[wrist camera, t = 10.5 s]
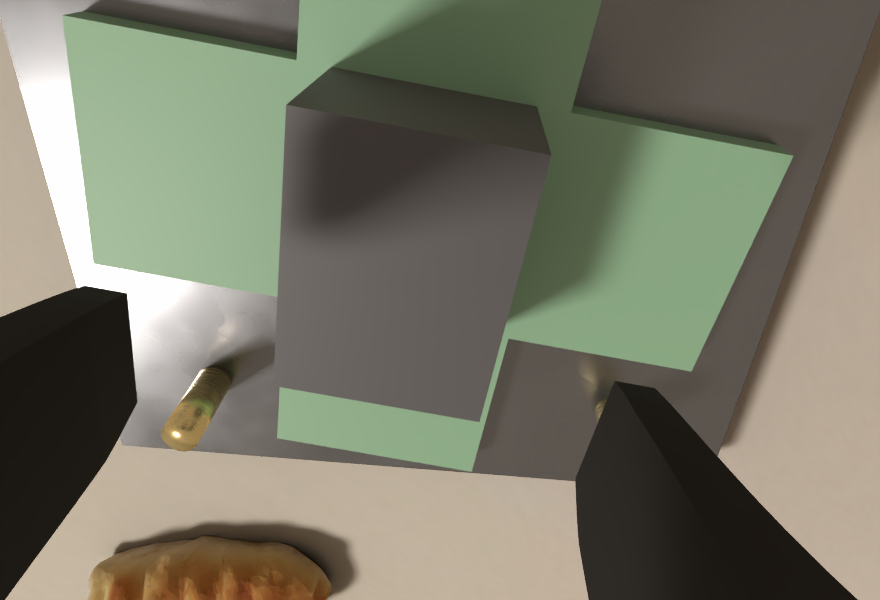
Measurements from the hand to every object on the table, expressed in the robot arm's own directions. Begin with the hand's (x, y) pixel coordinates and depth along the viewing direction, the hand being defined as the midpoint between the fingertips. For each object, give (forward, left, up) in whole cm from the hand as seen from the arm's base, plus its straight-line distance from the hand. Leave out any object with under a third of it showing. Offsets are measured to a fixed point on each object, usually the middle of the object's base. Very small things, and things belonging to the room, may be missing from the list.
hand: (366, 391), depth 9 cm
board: (0, 0, -7) cm, 7 cm away
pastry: (-8, -18, -9) cm, 22 cm away
